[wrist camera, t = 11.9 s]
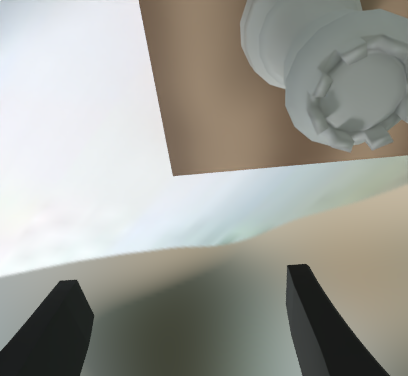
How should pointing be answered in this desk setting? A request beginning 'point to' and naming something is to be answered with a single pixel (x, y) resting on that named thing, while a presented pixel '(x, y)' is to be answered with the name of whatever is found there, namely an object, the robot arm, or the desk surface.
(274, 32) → the rook chess piece
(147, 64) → the desk surface
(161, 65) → the walnut block
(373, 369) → the robot arm
